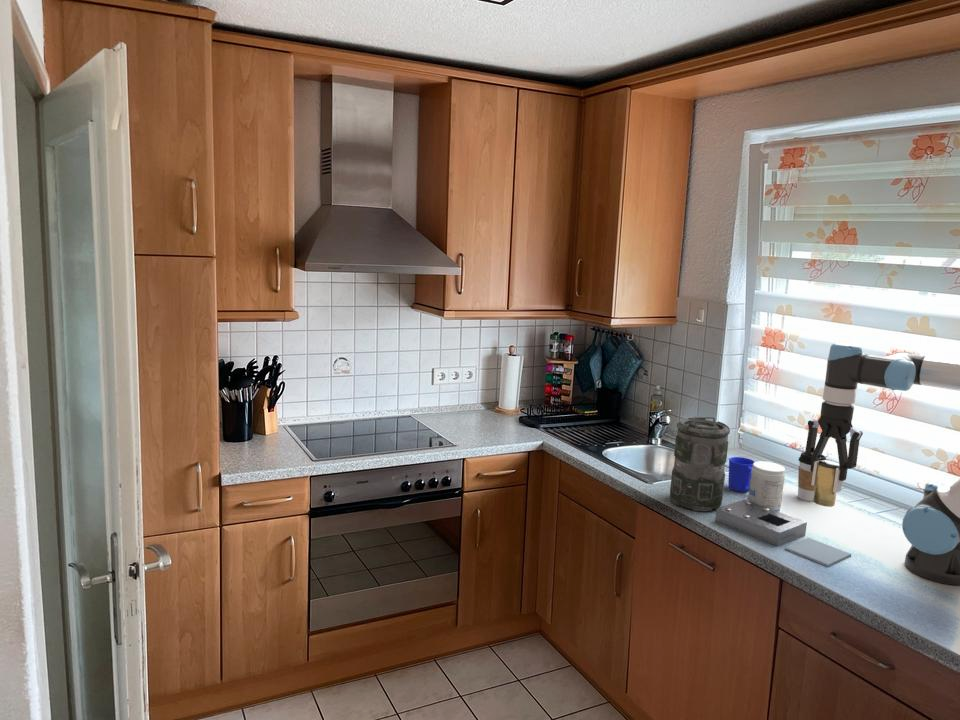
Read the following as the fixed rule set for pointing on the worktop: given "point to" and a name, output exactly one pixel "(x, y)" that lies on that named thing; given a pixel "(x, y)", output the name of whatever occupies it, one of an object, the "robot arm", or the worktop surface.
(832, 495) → the cylinder
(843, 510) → the worktop surface
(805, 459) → the coffee cup
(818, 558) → the mat
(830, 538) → the worktop surface
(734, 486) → the mug
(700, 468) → the canister
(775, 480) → the supplement tub
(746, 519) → the housing
